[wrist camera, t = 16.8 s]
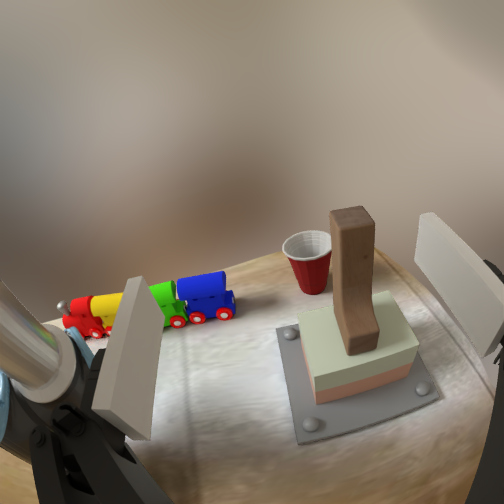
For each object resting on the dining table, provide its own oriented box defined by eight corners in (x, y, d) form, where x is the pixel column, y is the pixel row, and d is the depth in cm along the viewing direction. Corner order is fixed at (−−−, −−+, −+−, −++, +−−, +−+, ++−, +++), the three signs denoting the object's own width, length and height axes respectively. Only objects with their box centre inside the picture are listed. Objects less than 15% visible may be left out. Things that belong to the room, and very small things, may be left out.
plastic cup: (316, 264, 72) (312, 222, 65) (346, 286, 64) (345, 242, 57) (279, 284, 69) (271, 242, 62) (307, 310, 60) (302, 266, 54)
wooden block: (377, 350, 37) (392, 244, 27) (347, 357, 38) (351, 253, 27) (359, 305, 45) (362, 203, 34) (333, 311, 45) (328, 209, 35)
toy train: (73, 345, 64) (49, 316, 58) (80, 325, 70) (59, 295, 64) (239, 319, 63) (225, 280, 56) (237, 296, 69) (224, 258, 62)
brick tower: (298, 444, 38) (291, 422, 32) (276, 332, 57) (267, 294, 51) (437, 399, 37) (459, 366, 31) (388, 303, 56) (393, 263, 50)
